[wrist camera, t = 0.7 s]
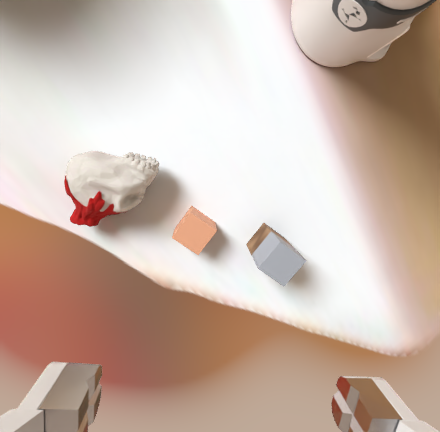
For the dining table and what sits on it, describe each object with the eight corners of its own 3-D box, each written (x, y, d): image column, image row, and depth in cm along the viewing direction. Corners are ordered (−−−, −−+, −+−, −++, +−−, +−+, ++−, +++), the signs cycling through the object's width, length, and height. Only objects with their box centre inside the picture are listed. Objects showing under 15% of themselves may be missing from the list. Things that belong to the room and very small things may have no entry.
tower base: (263, 222, 47) (271, 231, 42) (284, 238, 48) (294, 248, 43) (246, 244, 48) (251, 255, 43) (267, 259, 49) (274, 271, 44)
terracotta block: (191, 205, 46) (190, 212, 41) (215, 222, 47) (216, 230, 42) (174, 228, 46) (172, 237, 42) (198, 244, 47) (198, 255, 43)
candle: (167, 160, 43) (125, 232, 47) (102, 120, 41) (64, 199, 45) (155, 172, 34) (105, 258, 39) (72, 121, 32) (29, 218, 36)
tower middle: (271, 231, 42) (280, 241, 38) (294, 248, 43) (306, 260, 39) (251, 255, 43) (258, 268, 38) (274, 271, 44) (284, 286, 39)
